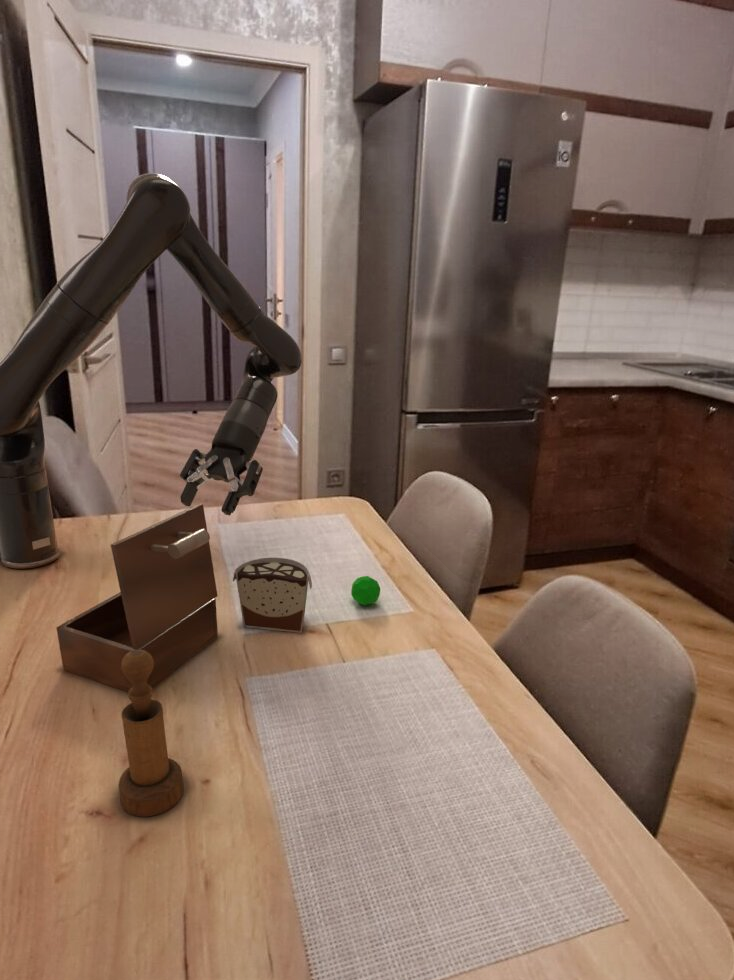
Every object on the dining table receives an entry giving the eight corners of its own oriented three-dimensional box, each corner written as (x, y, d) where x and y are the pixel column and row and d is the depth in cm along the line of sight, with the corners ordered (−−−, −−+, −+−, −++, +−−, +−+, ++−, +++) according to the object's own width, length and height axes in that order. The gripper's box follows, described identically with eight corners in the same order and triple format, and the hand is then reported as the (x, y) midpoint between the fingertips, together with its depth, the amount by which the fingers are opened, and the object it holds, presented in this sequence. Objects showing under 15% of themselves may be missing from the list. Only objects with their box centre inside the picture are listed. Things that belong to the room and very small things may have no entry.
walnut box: (63, 669, 93) (56, 627, 90) (147, 616, 107) (143, 578, 104) (140, 696, 88) (135, 652, 85) (218, 637, 102) (215, 598, 100)
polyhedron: (356, 611, 112) (357, 586, 110) (346, 598, 116) (347, 573, 114) (384, 607, 114) (385, 582, 112) (373, 594, 118) (374, 570, 116)
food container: (319, 614, 110) (319, 559, 107) (311, 633, 105) (311, 576, 101) (246, 607, 111) (244, 552, 107) (234, 626, 106) (231, 569, 102)
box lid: (110, 544, 80) (146, 548, 78) (198, 503, 95) (231, 506, 93) (132, 649, 85) (167, 656, 83) (213, 595, 100) (244, 600, 98)
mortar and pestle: (112, 787, 73) (92, 646, 66) (171, 764, 77) (157, 628, 70) (131, 826, 68) (111, 679, 61) (193, 800, 72) (181, 658, 65)
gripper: (198, 413, 120) (160, 491, 115) (266, 424, 115) (229, 506, 110) (218, 436, 127) (182, 511, 121) (282, 447, 122) (248, 525, 117)
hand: (204, 508), depth 116 cm, fingers open, 8 cm apart
